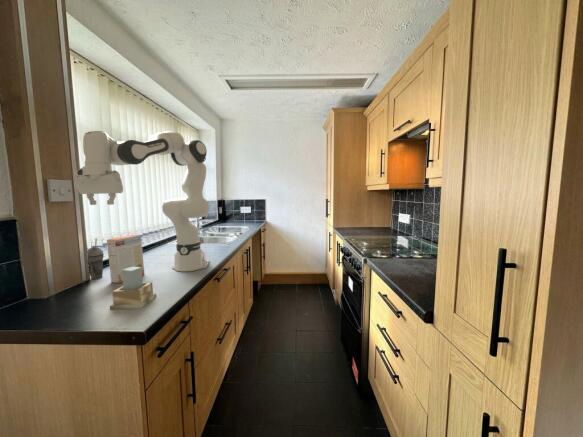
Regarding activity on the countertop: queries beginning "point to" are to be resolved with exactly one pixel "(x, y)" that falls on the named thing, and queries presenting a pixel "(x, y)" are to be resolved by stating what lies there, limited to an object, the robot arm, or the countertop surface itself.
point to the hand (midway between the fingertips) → (101, 204)
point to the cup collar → (132, 297)
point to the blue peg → (132, 278)
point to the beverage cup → (95, 262)
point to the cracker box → (124, 255)
